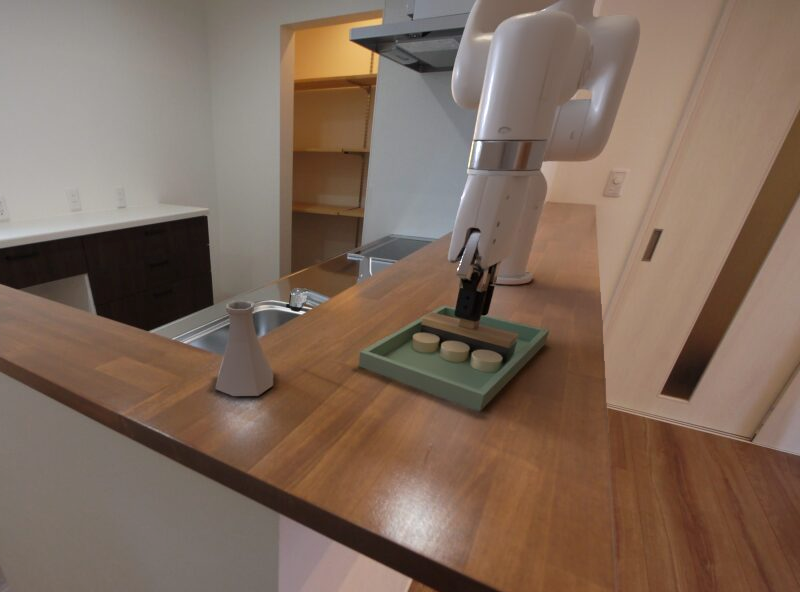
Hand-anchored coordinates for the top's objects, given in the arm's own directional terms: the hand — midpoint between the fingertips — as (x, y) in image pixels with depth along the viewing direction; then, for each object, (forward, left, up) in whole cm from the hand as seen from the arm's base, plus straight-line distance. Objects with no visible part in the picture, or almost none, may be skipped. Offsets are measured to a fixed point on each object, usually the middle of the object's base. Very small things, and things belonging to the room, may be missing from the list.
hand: (471, 314), depth 57 cm
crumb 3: (+3, +4, -5) cm, 7 cm away
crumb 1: (+3, -4, -5) cm, 7 cm away
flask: (+26, -16, -6) cm, 31 cm away
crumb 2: (+3, 0, -5) cm, 6 cm away
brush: (0, 0, -5) cm, 5 cm away
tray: (+2, 0, -6) cm, 6 cm away
